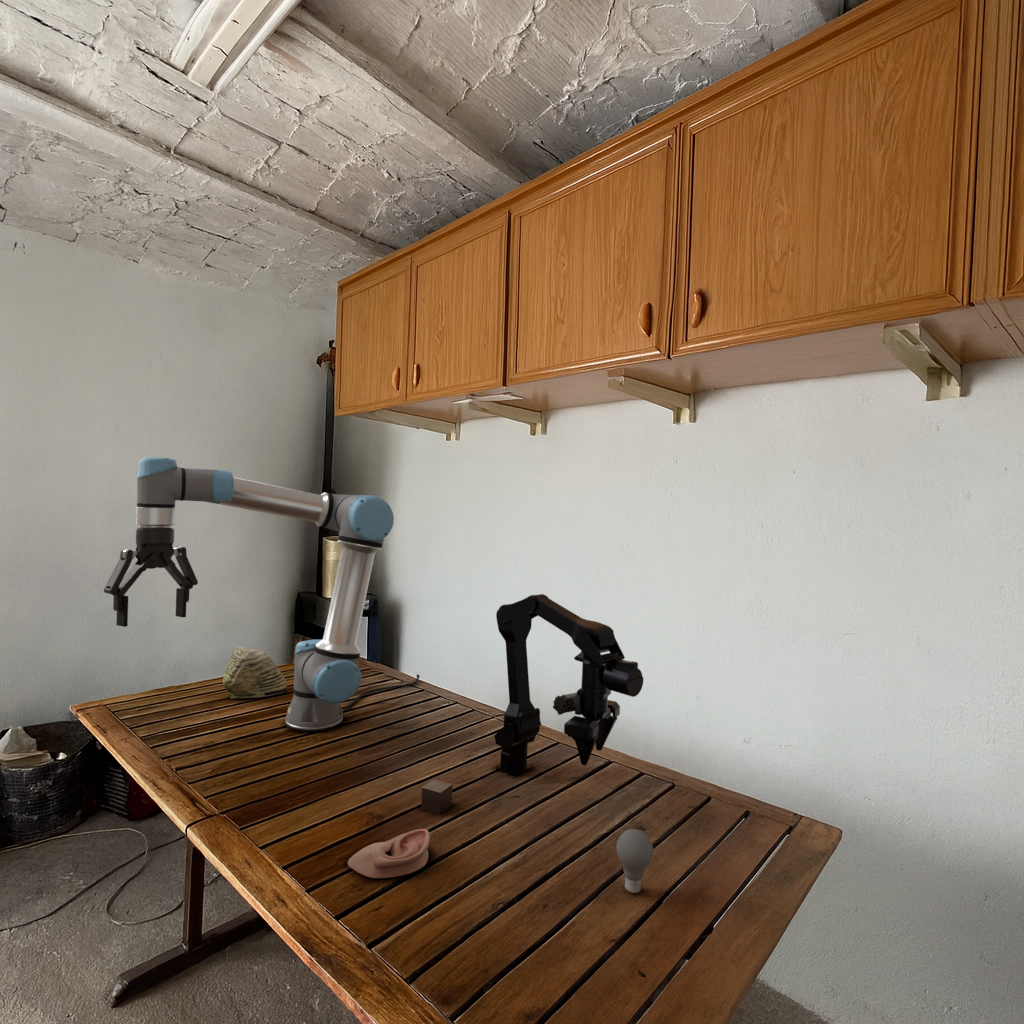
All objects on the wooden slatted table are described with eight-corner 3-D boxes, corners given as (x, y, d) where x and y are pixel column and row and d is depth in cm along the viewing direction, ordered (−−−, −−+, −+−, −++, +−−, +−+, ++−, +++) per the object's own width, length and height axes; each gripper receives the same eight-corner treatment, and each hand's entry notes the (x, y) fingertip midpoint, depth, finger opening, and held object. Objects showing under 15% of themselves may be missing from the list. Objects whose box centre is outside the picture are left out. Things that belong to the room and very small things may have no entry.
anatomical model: (339, 849, 107) (368, 816, 118) (339, 872, 107) (367, 837, 118) (414, 862, 104) (436, 827, 115) (413, 885, 104) (435, 848, 116)
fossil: (218, 695, 195) (220, 647, 195) (278, 685, 208) (279, 640, 207) (228, 703, 189) (230, 653, 188) (289, 692, 201) (290, 645, 201)
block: (433, 800, 135) (434, 778, 134) (451, 805, 132) (452, 784, 132) (421, 808, 131) (421, 787, 130) (439, 814, 128) (440, 792, 128)
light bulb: (610, 879, 108) (613, 822, 108) (644, 879, 109) (647, 822, 109) (619, 902, 102) (622, 840, 102) (655, 901, 103) (658, 840, 103)
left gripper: (195, 524, 154) (192, 611, 155) (86, 526, 132) (83, 627, 133) (215, 526, 151) (212, 615, 151) (107, 528, 129) (104, 632, 129)
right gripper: (575, 669, 147) (572, 735, 147) (542, 688, 131) (539, 764, 131) (622, 677, 142) (618, 746, 142) (593, 698, 125) (589, 776, 126)
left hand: (152, 621), depth 142 cm, fingers open, 13 cm apart
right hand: (591, 757), depth 135 cm, fingers open, 9 cm apart
